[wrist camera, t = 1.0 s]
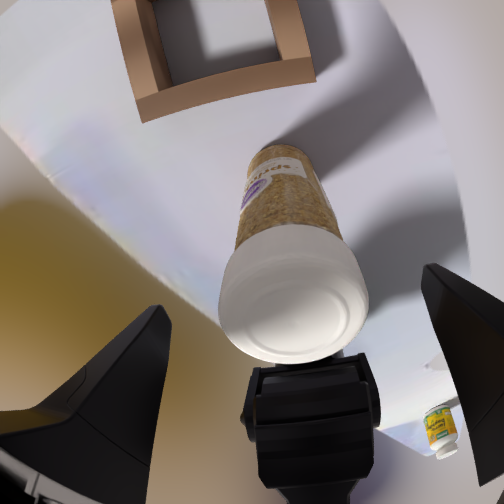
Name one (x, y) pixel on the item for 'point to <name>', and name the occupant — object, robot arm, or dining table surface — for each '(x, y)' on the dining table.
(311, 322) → the sprinkles bottle
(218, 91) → the walnut socket
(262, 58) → the dining table surface
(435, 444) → the supplement bottle
